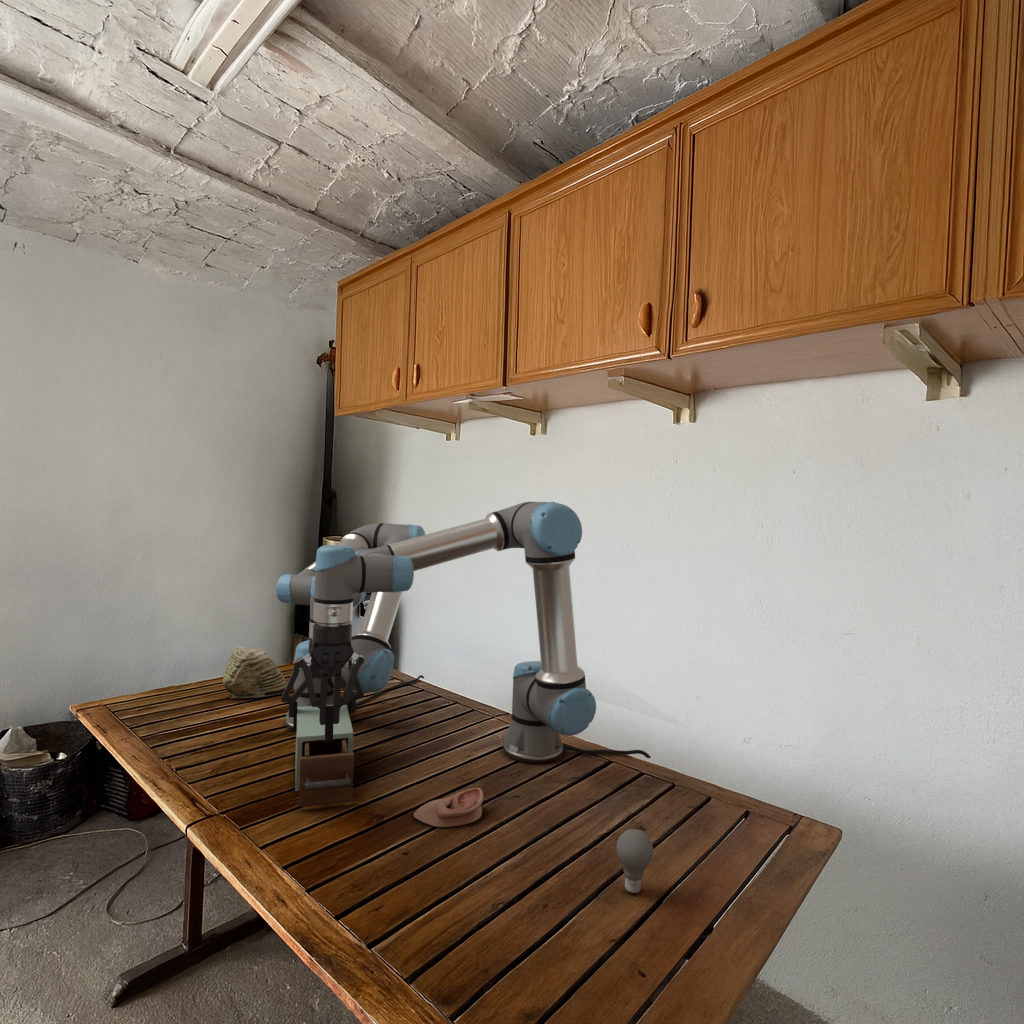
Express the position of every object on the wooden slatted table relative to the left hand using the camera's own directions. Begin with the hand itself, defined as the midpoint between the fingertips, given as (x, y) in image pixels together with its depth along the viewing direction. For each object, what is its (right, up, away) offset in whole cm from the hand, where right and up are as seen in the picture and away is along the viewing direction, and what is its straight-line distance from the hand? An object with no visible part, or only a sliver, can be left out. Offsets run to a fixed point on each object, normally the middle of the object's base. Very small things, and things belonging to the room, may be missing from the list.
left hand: (321, 728), depth 153 cm
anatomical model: (+33, -9, -24) cm, 42 cm away
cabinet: (+2, -7, -6) cm, 10 cm away
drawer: (+6, -7, -18) cm, 20 cm away
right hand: (+9, +7, -26) cm, 28 cm away
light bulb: (+66, -11, -47) cm, 82 cm away
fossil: (-35, -5, +45) cm, 57 cm away
